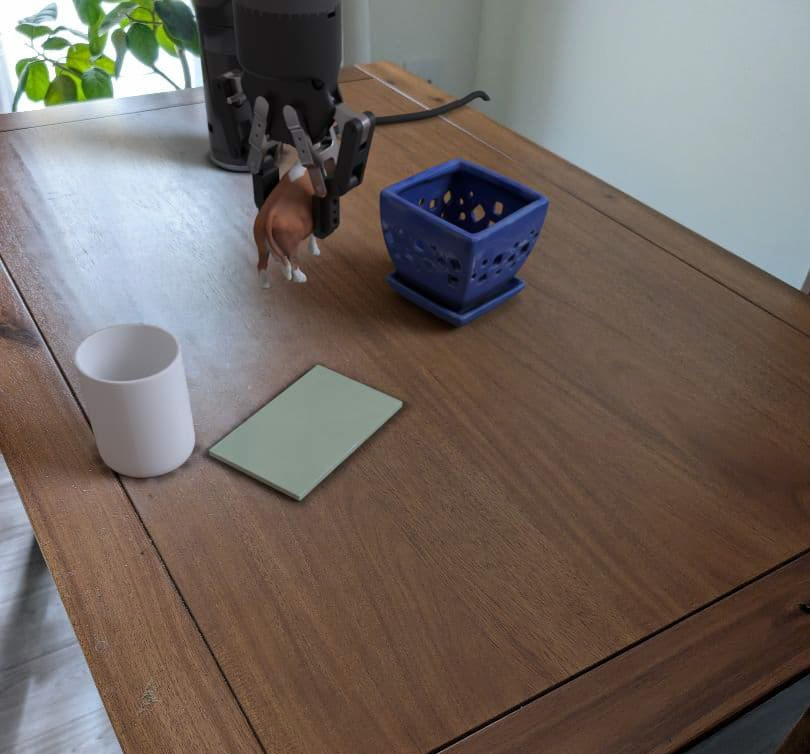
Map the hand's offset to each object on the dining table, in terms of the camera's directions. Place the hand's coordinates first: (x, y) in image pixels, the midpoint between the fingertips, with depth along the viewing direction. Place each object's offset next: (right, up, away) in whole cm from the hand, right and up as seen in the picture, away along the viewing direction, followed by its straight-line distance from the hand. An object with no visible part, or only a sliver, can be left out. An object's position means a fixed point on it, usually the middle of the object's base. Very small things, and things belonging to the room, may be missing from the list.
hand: (297, 223), depth 71 cm
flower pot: (+14, +1, +25) cm, 29 cm away
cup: (-14, -17, +6) cm, 23 cm away
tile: (0, -16, +8) cm, 18 cm away
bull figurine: (0, -2, +3) cm, 4 cm away
